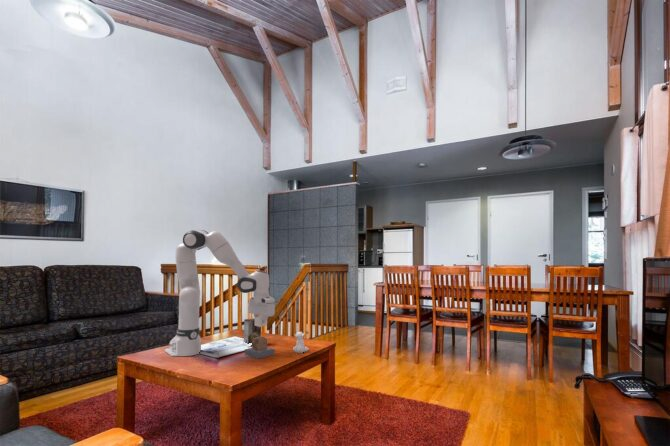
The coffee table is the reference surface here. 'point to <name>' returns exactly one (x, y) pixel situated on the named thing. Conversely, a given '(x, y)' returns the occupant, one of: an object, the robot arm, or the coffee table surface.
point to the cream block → (259, 321)
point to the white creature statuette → (300, 343)
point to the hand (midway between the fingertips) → (260, 322)
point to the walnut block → (259, 343)
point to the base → (259, 352)
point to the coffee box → (251, 330)
